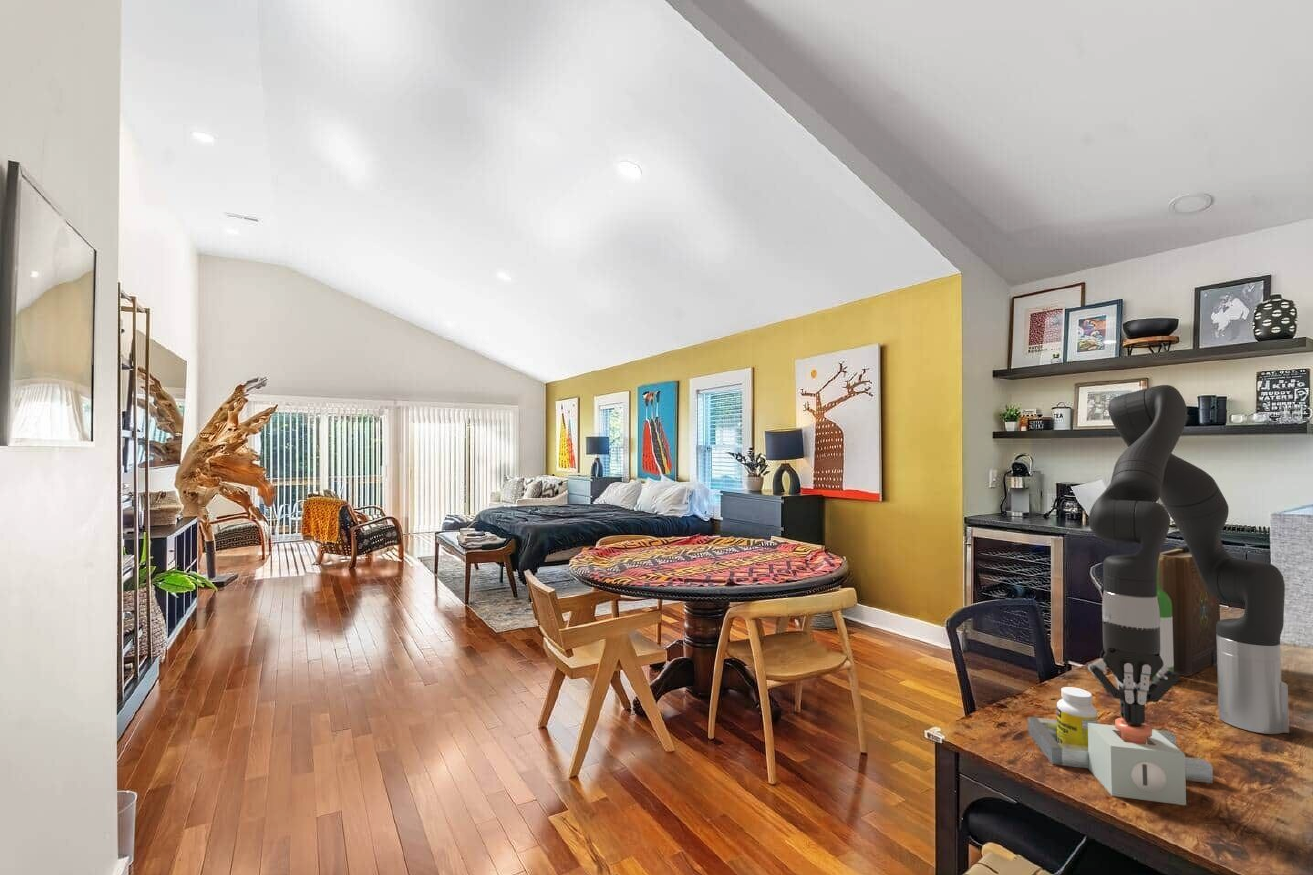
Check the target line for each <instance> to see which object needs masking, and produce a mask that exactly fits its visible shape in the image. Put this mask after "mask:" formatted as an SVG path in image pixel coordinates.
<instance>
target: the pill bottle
mask: <svg viewBox="0 0 1313 875" xmlns="http://www.w3.org/2000/svg"><path fill="white" fill-rule="evenodd" d="M1060 690H1061V693H1060V694H1061V699H1059V700H1058V701H1057V702H1056V720H1057V740H1056V742H1057V743H1063V744H1072V745H1081V746H1088V723H1095V724H1099V723H1098V718H1099V717H1098V715H1099V714H1098V711H1097V709H1096V708H1095V706H1094V705H1093V704H1092V703H1093V695H1092V693H1091V692H1090V691H1088V690H1085V689H1083V688H1079V687H1074V686H1064V687H1062V688H1061V689H1060Z"/></svg>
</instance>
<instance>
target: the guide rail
mask: <svg viewBox="0 0 1313 875" xmlns="http://www.w3.org/2000/svg"><path fill="white" fill-rule="evenodd" d="M1155 730H1156V731H1158V732H1159V733H1160V734H1161V735H1162V736H1164V737H1165V738H1166V739H1167V740H1169V741H1170V742H1171V743H1172V744H1173V745H1175V746H1176V747H1177V736H1176V735H1175V734H1174V733H1173V732H1171V731H1169V730H1162V729H1161V730H1159V729H1155ZM1027 733H1028V734H1029V735H1030V737H1031V738H1032V739H1033V741H1034V742H1035V743H1036V745H1037V746H1038V748H1039V749H1040V750H1041V752H1042V753H1043V754H1044V756H1045V757H1046V758H1047V759H1048V761H1049V763H1051V764H1052V765H1056V766H1064V767H1074V768H1079V769H1081V768H1082V769H1088V770H1089V759H1088V746H1081V745H1072V744H1063V743H1057V719H1051V718H1044V717H1043V718H1042V717H1041V718H1040V717H1032V716H1027ZM1213 776H1214V774H1213V764H1211V763H1210V762H1209V761H1208V760H1206V759H1204V758H1197V757H1188V756H1185V780H1186V781H1189V782H1190V781H1191V782H1197V783H1206V784H1214V782H1213V781H1214V779H1213V778H1214V777H1213Z"/></svg>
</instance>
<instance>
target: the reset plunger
mask: <svg viewBox="0 0 1313 875" xmlns="http://www.w3.org/2000/svg"><path fill="white" fill-rule="evenodd" d="M1114 722H1115V723H1114V725H1115V727H1116V729H1118V730H1119V731H1121V739H1122V740H1123V741H1124V742H1129V743H1138V744H1146V737H1151V736H1152V729H1153V727H1152V726H1151V725H1149V724H1148V723H1146V722H1144V724H1143V723H1141V727H1137V726H1130V725H1129V724H1127V723H1126V722H1125V720H1124V719H1123V718H1122V717H1118V718H1115V719H1114Z"/></svg>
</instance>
